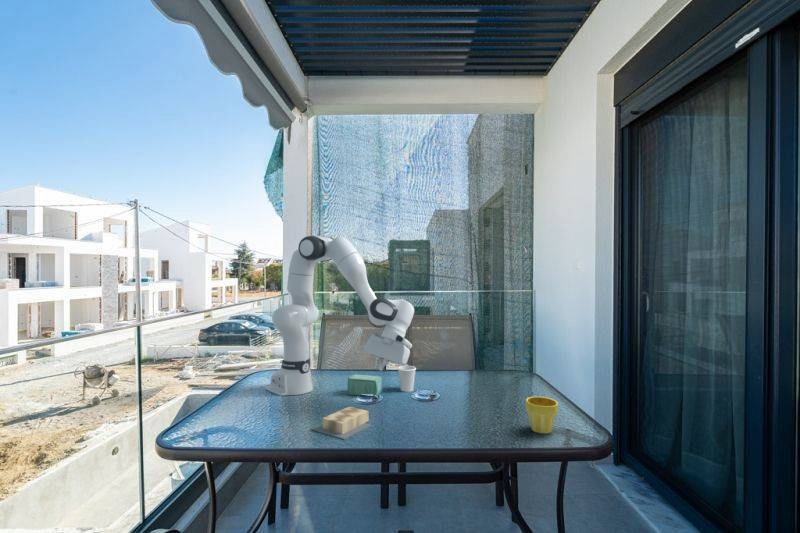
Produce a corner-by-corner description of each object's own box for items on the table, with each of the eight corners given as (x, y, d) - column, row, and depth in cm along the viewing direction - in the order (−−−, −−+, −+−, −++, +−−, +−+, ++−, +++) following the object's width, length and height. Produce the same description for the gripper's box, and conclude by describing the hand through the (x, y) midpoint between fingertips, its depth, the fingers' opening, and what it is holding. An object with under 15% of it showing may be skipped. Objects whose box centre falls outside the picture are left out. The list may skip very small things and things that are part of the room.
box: (376, 397, 175) (376, 380, 175) (347, 395, 179) (347, 377, 179) (382, 392, 182) (382, 375, 182) (353, 390, 186) (353, 373, 186)
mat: (311, 429, 140) (311, 428, 140) (339, 417, 152) (339, 416, 152) (344, 439, 132) (344, 438, 132) (371, 425, 144) (371, 424, 144)
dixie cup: (416, 392, 181) (416, 370, 181) (397, 392, 181) (397, 370, 181) (416, 387, 190) (415, 365, 190) (397, 387, 190) (397, 365, 190)
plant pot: (561, 437, 133) (560, 407, 133) (527, 435, 135) (527, 405, 135) (554, 425, 144) (554, 397, 144) (524, 423, 145) (523, 395, 145)
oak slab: (349, 415, 152) (322, 428, 141) (349, 406, 152) (322, 418, 141) (368, 420, 147) (342, 434, 136) (368, 411, 147) (342, 423, 136)
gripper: (369, 328, 170) (354, 359, 166) (408, 340, 158) (393, 374, 153) (377, 334, 175) (362, 365, 170) (415, 346, 163) (401, 379, 158)
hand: (377, 369), depth 162 cm, fingers closed
